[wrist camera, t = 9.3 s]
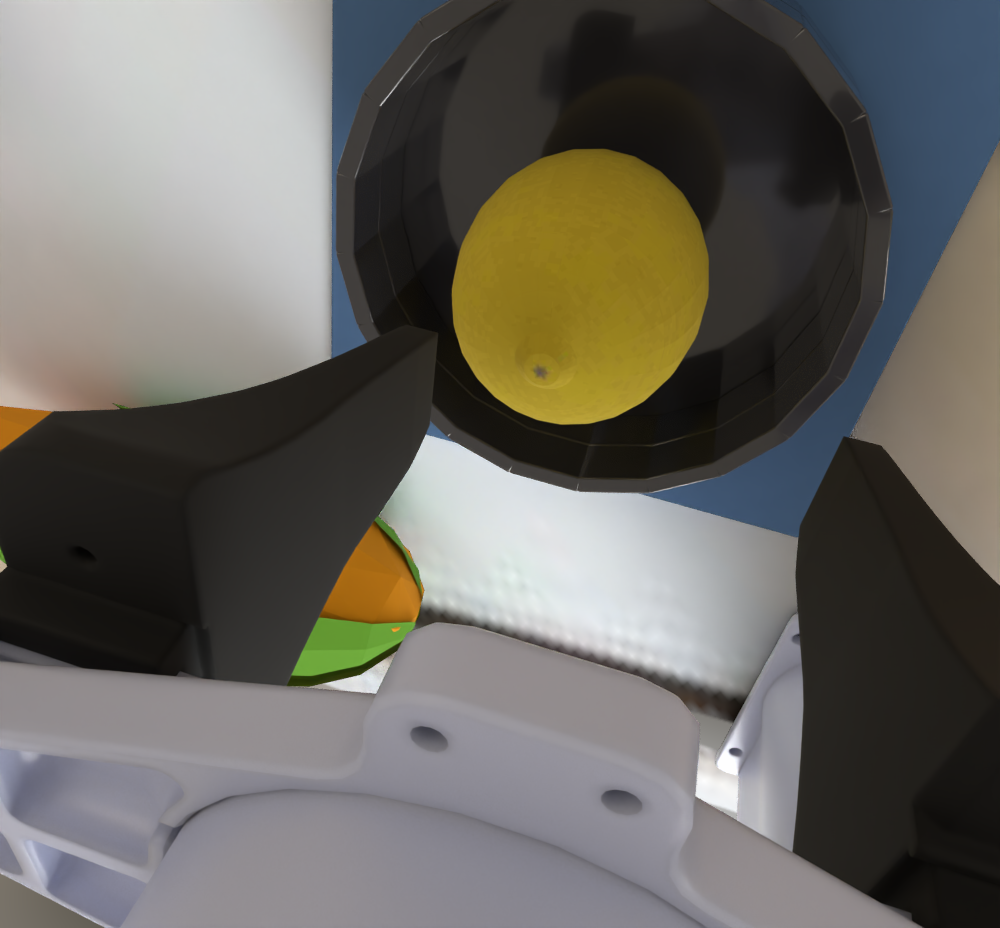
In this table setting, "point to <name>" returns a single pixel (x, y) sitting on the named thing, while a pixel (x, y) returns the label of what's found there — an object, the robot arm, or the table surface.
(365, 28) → the napkin
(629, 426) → the pan
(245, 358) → the table surface
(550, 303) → the lemon
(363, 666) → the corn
